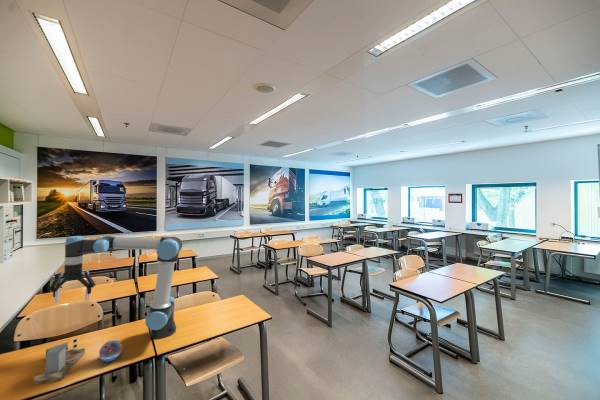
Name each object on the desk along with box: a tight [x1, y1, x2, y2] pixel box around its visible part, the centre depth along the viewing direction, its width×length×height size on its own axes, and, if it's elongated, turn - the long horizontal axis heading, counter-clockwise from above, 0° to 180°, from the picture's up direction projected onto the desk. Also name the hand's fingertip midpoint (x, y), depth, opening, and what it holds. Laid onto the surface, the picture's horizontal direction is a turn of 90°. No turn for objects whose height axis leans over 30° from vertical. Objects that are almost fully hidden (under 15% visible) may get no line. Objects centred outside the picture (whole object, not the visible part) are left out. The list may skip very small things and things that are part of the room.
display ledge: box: [33, 347, 86, 385], centre depth 127 cm, size 10×22×3 cm, turn 18°
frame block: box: [45, 344, 67, 375], centre depth 122 cm, size 5×7×11 cm
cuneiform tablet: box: [45, 338, 78, 354], centre depth 137 cm, size 7×4×12 cm
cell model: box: [98, 339, 123, 363], centre depth 134 cm, size 10×12×10 cm
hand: (72, 301), depth 139 cm, fingers open, 13 cm apart
